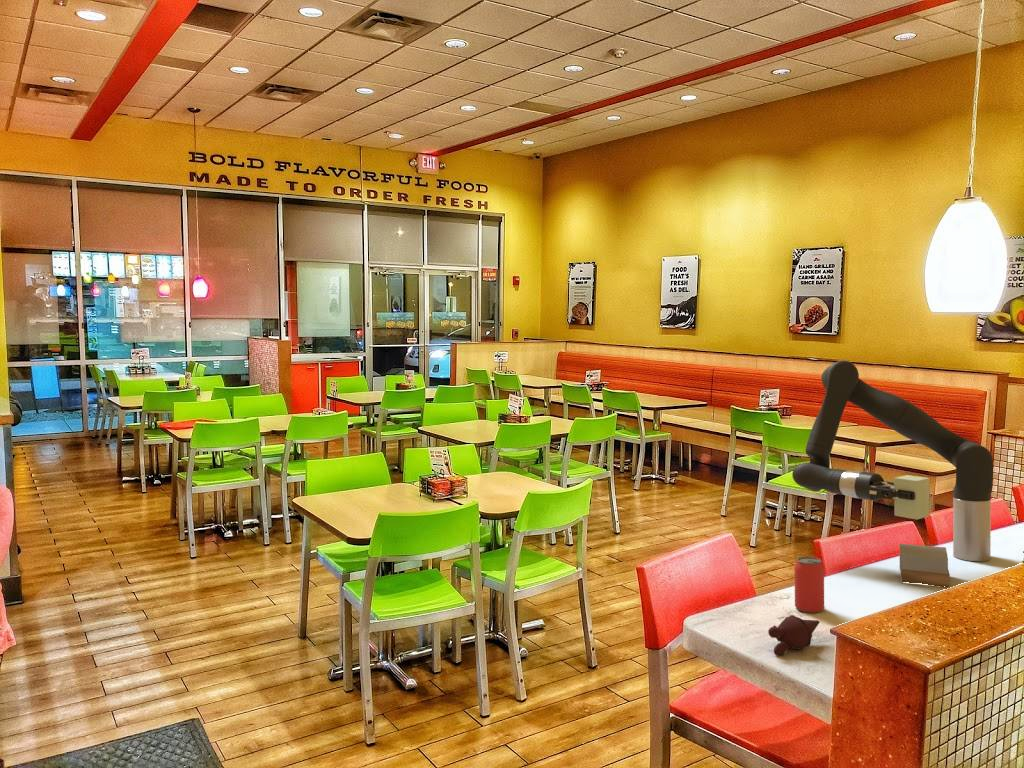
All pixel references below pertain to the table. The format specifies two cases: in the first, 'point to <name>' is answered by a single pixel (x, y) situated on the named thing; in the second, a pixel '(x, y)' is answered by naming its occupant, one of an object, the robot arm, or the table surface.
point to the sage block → (922, 497)
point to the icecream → (792, 634)
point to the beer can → (809, 585)
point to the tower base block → (926, 578)
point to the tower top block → (923, 558)
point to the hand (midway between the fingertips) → (921, 494)
